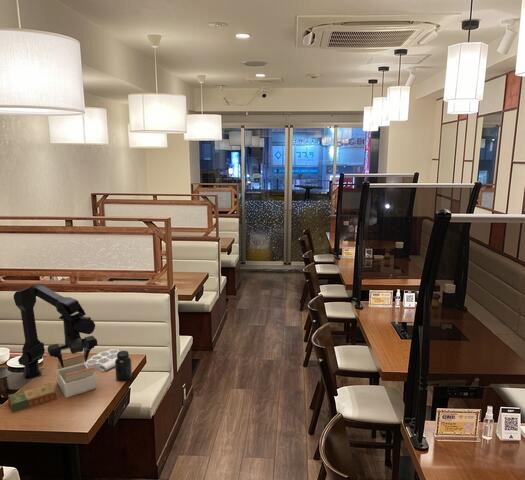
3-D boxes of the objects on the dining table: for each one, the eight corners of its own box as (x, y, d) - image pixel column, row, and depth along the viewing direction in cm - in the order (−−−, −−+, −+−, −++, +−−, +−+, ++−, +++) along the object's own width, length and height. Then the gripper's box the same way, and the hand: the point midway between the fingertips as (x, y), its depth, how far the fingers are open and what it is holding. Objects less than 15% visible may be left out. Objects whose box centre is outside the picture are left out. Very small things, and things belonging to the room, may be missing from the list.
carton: (56, 400, 191) (55, 390, 190) (12, 413, 181) (11, 403, 180) (51, 391, 197) (50, 382, 196) (8, 404, 188) (7, 394, 187)
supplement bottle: (112, 380, 206) (110, 354, 204) (122, 373, 212) (121, 348, 210) (125, 383, 204) (123, 357, 201) (135, 376, 210) (133, 351, 207)
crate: (57, 383, 203) (56, 370, 202) (85, 375, 210) (84, 363, 209) (65, 397, 192) (64, 384, 191) (95, 388, 199) (94, 375, 198)
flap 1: (84, 354, 205) (84, 353, 205) (57, 361, 199) (57, 360, 199) (84, 362, 208) (83, 361, 208) (57, 369, 201) (57, 368, 202)
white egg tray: (100, 375, 211) (79, 367, 218) (130, 360, 226) (109, 353, 233) (99, 368, 210) (78, 360, 218) (130, 353, 225) (109, 346, 233)
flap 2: (66, 373, 188) (66, 375, 188) (94, 366, 194) (94, 367, 194) (65, 381, 191) (65, 382, 191) (93, 373, 198) (93, 374, 197)
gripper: (52, 341, 184) (55, 378, 187) (100, 331, 195) (102, 365, 198) (45, 332, 193) (49, 367, 196) (92, 322, 203) (94, 356, 207)
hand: (74, 364), depth 199 cm, fingers open, 9 cm apart
